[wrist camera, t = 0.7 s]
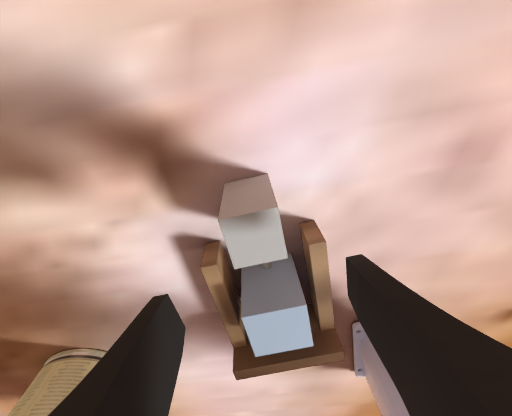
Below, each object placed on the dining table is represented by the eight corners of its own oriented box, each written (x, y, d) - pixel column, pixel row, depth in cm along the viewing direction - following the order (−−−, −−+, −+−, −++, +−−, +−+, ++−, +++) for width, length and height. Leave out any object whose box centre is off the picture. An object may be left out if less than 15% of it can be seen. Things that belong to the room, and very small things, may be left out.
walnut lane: (325, 309, 24) (344, 360, 19) (237, 326, 24) (236, 380, 20) (314, 220, 19) (336, 260, 15) (206, 243, 20) (195, 288, 15)
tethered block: (297, 289, 22) (313, 345, 18) (252, 299, 23) (255, 356, 18) (275, 171, 17) (289, 204, 12) (216, 185, 17) (206, 222, 12)
